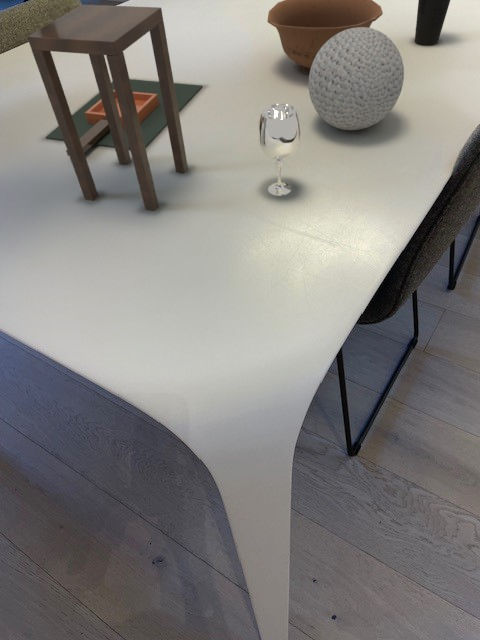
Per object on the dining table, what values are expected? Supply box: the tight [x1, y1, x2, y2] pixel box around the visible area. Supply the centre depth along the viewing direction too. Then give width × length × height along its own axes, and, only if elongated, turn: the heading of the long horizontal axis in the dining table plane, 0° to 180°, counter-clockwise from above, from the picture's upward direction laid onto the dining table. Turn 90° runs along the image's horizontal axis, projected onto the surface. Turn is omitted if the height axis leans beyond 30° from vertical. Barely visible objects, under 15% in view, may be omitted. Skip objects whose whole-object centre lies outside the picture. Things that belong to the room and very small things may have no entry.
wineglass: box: [257, 103, 301, 197], centre depth 69 cm, size 6×6×12 cm
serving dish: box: [65, 90, 159, 157], centre depth 89 cm, size 10×22×2 cm, turn 159°
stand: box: [26, 4, 189, 212], centre depth 69 cm, size 12×12×23 cm
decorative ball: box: [308, 27, 405, 131], centre depth 80 cm, size 15×15×15 cm
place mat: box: [45, 78, 203, 151], centre depth 95 cm, size 20×26×1 cm
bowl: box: [267, 0, 384, 75], centre depth 98 cm, size 22×22×11 cm
